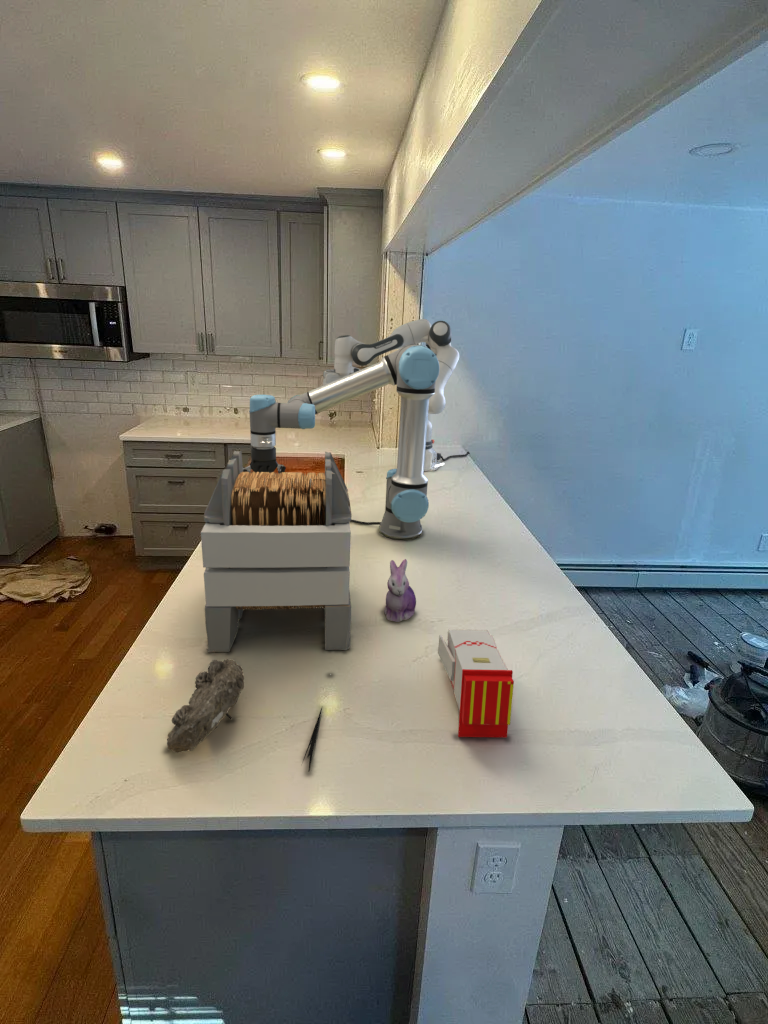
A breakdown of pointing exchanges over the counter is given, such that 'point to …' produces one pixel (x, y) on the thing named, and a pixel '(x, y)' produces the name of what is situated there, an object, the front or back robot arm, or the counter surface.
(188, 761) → the counter surface
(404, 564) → the figurine
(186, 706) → the fossil
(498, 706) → the toy
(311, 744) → the feather
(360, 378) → the front robot arm
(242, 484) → the record storage crate
